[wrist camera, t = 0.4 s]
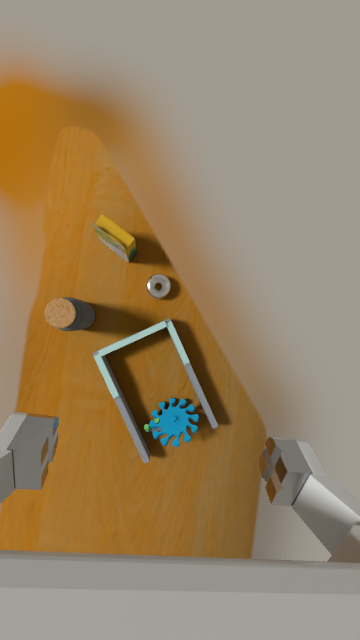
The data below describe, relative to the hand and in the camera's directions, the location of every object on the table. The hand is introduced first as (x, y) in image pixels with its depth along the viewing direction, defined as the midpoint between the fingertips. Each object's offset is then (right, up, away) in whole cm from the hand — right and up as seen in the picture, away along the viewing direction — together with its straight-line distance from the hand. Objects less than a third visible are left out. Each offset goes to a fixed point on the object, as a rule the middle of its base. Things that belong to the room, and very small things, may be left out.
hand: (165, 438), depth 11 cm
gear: (-2, -16, +52) cm, 54 cm away
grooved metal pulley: (-4, +12, +52) cm, 53 cm away
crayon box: (-12, +20, +51) cm, 56 cm away
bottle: (-20, +6, +50) cm, 54 cm away
